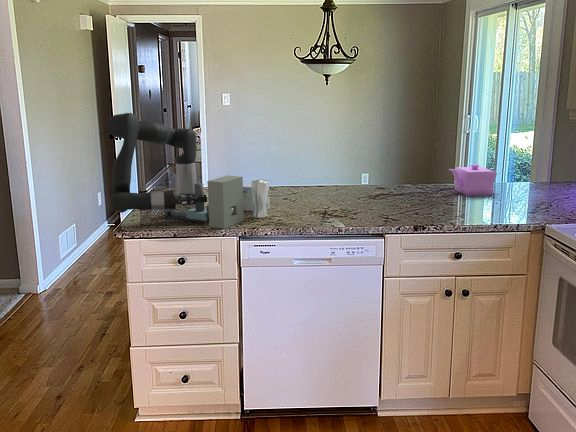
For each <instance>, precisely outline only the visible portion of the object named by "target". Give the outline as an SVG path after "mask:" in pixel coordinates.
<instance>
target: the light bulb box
mask: <svg viewBox="0 0 576 432" xmlns="http://www.w3.org/2000/svg"><path fill="white" fill-rule="evenodd" d="M251 185H252V183H251V184H250V183H248V184H247V183H246V184H245V185H243V210H244V211H250V212H251V211H252V212H254V205H253V200H252V194H251ZM270 198H271V197H270V185H269V184H268V200H267V211H268V210H270V209H271V208H270V207H271V204H270V203H271V202H270Z"/></svg>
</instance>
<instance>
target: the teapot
mask: <svg viewBox="0 0 576 432" xmlns="http://www.w3.org/2000/svg"><path fill="white" fill-rule="evenodd" d="M448 170H449V171H450V172H452V174H453V179H454V191H456V192H458V193H460V194H463V195H464V196H466V197H472V196H473V197H476V196H478V197H479V196H480V197H481V196H482V197H483V196H494V195H493V194H494V185H495V184H494V183H495V182H494V181H495V178H497V174H498V173H497V172H496V171H495V170H492V169H489V168H486V167H483V166H480V164H475V163H472V164H471V165H470V166H456V167H455V168H448Z"/></svg>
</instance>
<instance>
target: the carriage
mask: <svg viewBox="0 0 576 432" xmlns="http://www.w3.org/2000/svg"><path fill="white" fill-rule="evenodd" d="M194 189H195V197H197V198H198V197H204V194H205V192H204V191H205V190H204V183H201V182H200V183H199V182H198V183H197V182H196V184H194ZM194 205H195V206H194V208H190V209H188V210H185V211H184V212H185V214H186V218H189V219H197V220H204V221H207V220H208V216H209V207H208V204H207V205H206V208H205V202H199V203H196V204H194Z"/></svg>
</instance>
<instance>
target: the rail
mask: <svg viewBox="0 0 576 432" xmlns="http://www.w3.org/2000/svg"><path fill="white" fill-rule="evenodd" d="M164 217H165V218H167V219H175V220H182V221H190V222H191V221H192V222H198V223H206V224H209V216H208V220H207V221H204V220H197V219H189V218H186V214H185V211H182V210H176V209H170V210H164Z"/></svg>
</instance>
